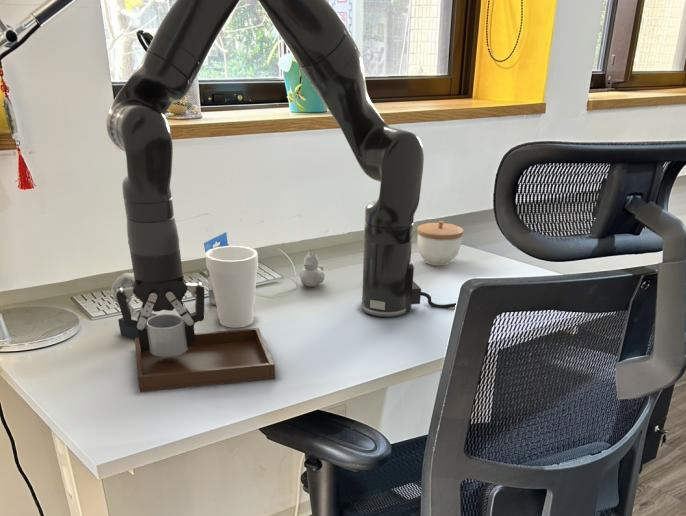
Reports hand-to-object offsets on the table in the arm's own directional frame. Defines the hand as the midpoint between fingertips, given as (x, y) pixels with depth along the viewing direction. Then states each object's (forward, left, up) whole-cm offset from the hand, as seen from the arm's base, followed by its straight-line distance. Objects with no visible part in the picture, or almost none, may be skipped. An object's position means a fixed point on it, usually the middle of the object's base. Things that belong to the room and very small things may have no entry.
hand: (168, 346), depth 119 cm
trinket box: (-65, -42, -3) cm, 78 cm away
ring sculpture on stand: (+5, -13, -3) cm, 15 cm away
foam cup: (-13, -15, -3) cm, 21 cm away
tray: (-5, +3, -3) cm, 7 cm away
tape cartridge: (-13, -27, -3) cm, 31 cm away
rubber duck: (-32, -32, -3) cm, 46 cm away
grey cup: (0, 0, -1) cm, 1 cm away
